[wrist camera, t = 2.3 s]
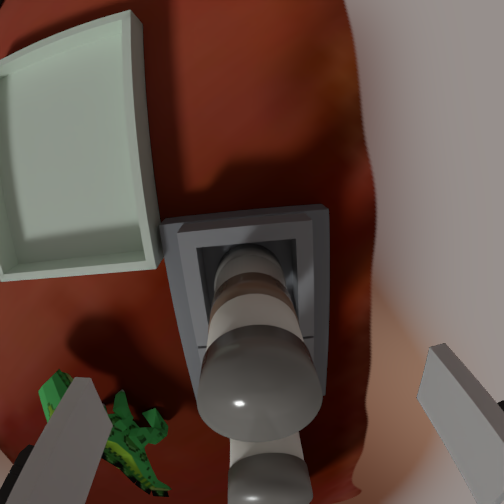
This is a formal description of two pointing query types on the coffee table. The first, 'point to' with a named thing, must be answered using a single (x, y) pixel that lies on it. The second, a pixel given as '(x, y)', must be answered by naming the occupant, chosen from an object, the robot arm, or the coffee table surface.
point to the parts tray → (77, 155)
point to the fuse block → (305, 304)
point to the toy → (118, 434)
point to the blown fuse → (255, 353)
